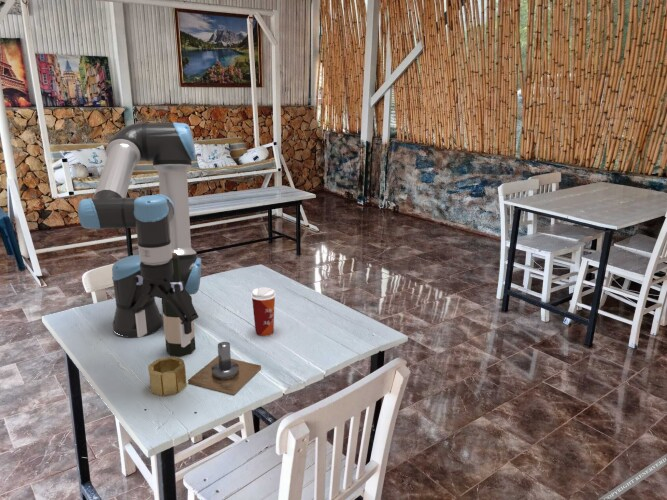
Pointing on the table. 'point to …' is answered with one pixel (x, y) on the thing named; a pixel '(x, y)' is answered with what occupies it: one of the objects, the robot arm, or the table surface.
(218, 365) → the doorknob
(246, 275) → the table surface
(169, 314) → the wine bottle
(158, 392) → the collar
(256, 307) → the paper cup
